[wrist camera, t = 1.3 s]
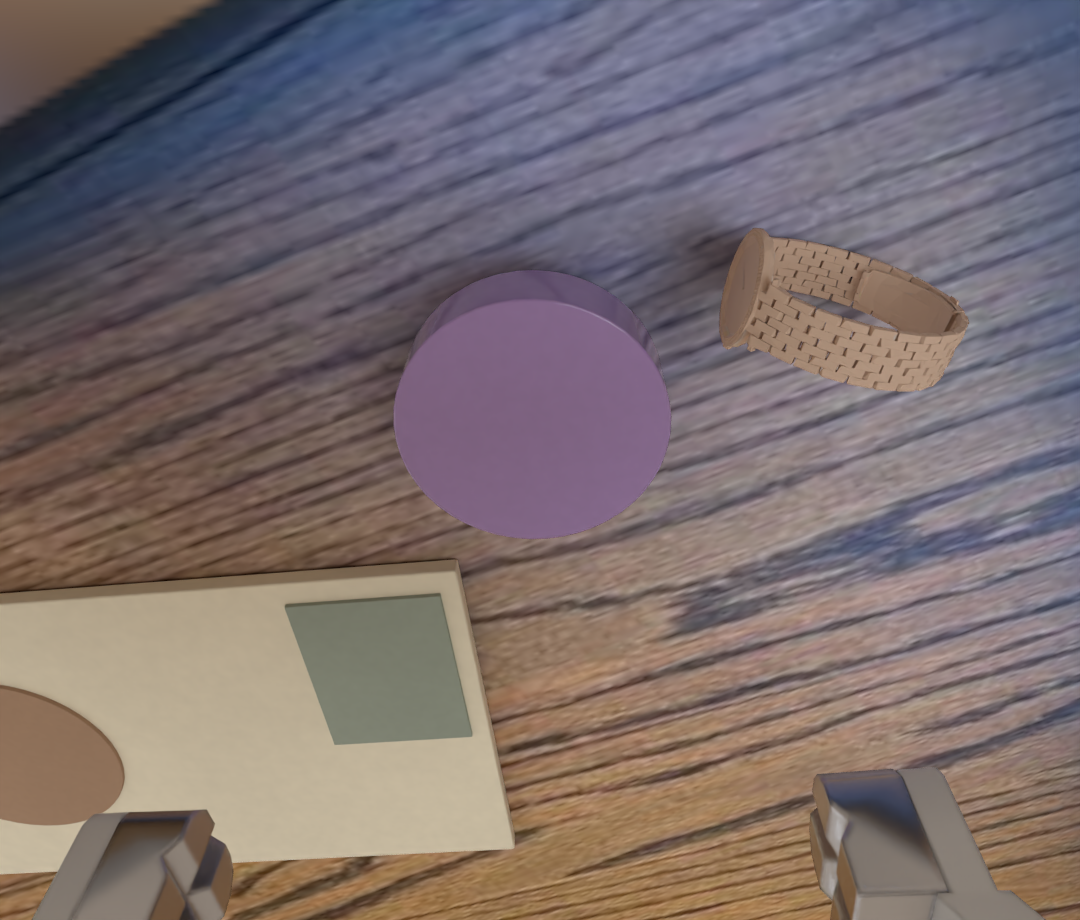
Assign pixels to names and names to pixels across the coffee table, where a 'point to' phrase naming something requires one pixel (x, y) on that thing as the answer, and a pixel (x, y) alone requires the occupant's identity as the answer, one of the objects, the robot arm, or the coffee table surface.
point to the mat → (251, 714)
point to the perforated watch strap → (876, 288)
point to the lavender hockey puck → (532, 406)
